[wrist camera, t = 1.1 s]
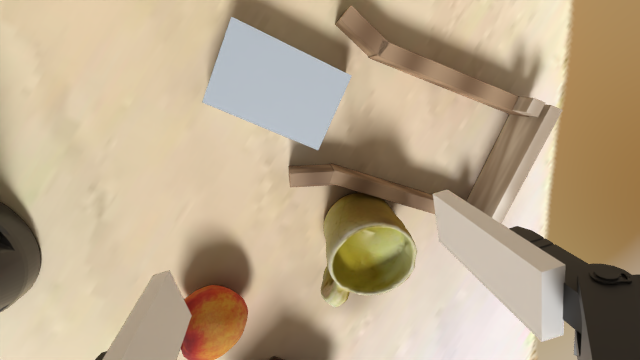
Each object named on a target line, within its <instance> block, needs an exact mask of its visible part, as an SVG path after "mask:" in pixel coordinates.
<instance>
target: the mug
mask: <svg viewBox="0 0 640 360" xmlns="http://www.w3.org/2000/svg"><path fill="white" fill-rule="evenodd" d="M324 234H325V238H326V257H327V267H326V269H325V271H324V275H323V282H322V286H321V294H322V296H323V298H324V300H325V301H326V302H327V303H329V304H330V305H332V306H333V307H338V306H340V305H342V304H343V303H344V302H345V301H346V300H347V299H348V296H349V292H353V293H356V294H358V295H370V296H371V295H380V294H383V293H386V292H388V291H390V290H392V289H394V288H396V287H398V286H399V285H401V284H402V283H403V282H404V281H406V280H407V279H408V278H409V276H410V274H411V273H412V271H413V270H414V267H415V258H416V254H417V251H416V246H415V243H414V241H413V239H412V237H411V235H410V233H409V232H408V230H407V229H406V228H405V226H404V224H403V223H402V221H401V220H400V219H399V218H398V217H397V216H396V215H395V213H394V212H393V211H392V209H391V208H390V206H389V205H388V204H387V203H386V202H385V201H384V200H383V199H381V198H378V197H375V196H372V195H368V194H365V193H353V194H350V195H347V196H344V197H342V198H341V199H339V200H338V201H337V202H336V203H335V204H334V205H333V206H332V207H331V208H330V210H329V211H328V213H327V215H326V218H325V220H324Z"/></svg>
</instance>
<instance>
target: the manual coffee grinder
mask: <svg viewBox="0 0 640 360" xmlns="http://www.w3.org/2000/svg"><path fill="white" fill-rule="evenodd" d="M269 360H283V359H280V358H278V357H275V356H273V357H272V358H271V359H269Z"/></svg>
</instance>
